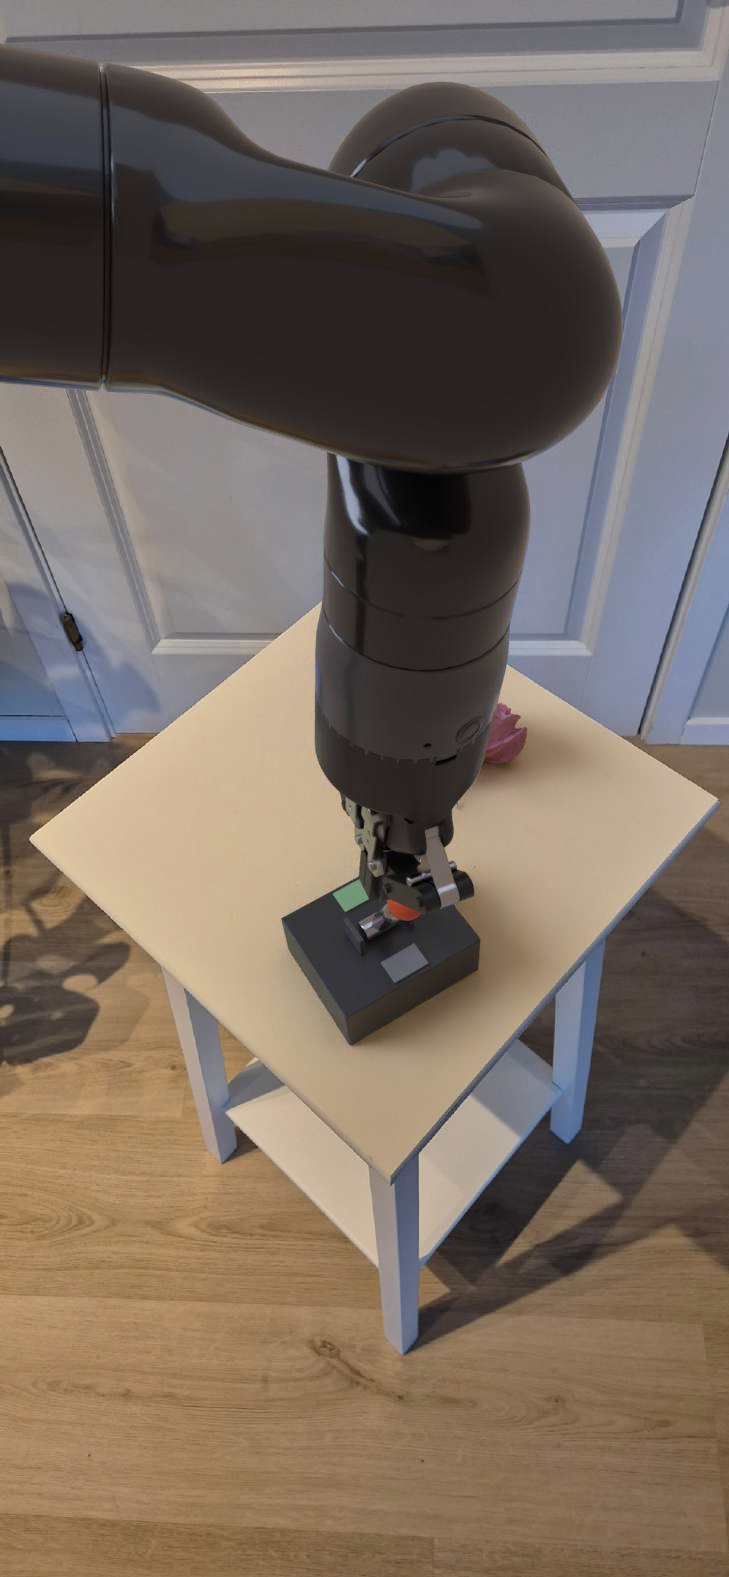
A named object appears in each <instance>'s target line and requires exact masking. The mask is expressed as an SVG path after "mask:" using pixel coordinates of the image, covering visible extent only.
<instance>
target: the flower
mask: <svg viewBox="0 0 729 1577" xmlns="http://www.w3.org/2000/svg"><path fill="white" fill-rule="evenodd" d="M521 718H522V717H521V715H519V714H515V713H512V709H511V708H510V707H508V706H507V704H505V703H503V702H498V704H497V708H496V712H495V716H494V720H493V724H492V728H491V732H490V736H489V740H488V744H487V748H486V753H485V757H484V761H483V762H488V763H490V764H506V763H508V762H511V761H512V760H514V759H515V758H516V757H517V756H519V755H520V753H521V752H522V751H523V750H524V748H525V745H526V743H527V736H528V727H527V726H522V727H518V728H516V725H517V723H518V722H519V720H520V719H521ZM458 802H459V801H458ZM458 802H457V803H456V809H457V810H458V809H459V803H458Z"/></svg>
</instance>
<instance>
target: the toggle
mask: <svg viewBox="0 0 729 1577" xmlns="http://www.w3.org/2000/svg"><path fill="white" fill-rule="evenodd" d="M420 915H421V913H419V912H417V911H415V910H413V909H410V908H408V907H406V906H403V905H401V904H399V903H397V902H394V901H392V900H387V904H386V905H385V906H384V907H383V908H382V909H380V910H379V911H377V912H376V913H374V914H372V915H370V916H368V917H367V918H365V919H363V920H361V921H360V922H358V923H357V925H358V929H359V931H360V933H361V935H362V936H363V938H364V939H365V940H366V941H369V940H371V939H373V938H374V937H376V936H378V935H380V934H381V933H383V932H385V931H387V930H388V929H390V928H392V927H394V926H396V925H397V924H399V923H400V922H401V920H403V921H409V920H413V919H415V918H417V917H418V916H420Z"/></svg>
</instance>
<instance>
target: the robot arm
mask: <svg viewBox="0 0 729 1577" xmlns="http://www.w3.org/2000/svg"><path fill="white" fill-rule="evenodd" d="M620 294H621V293H620V291H619V288H618V283H617V279H616V275H615V272H614V269H613V267H612V264H611V262H610V260H609V257H608V255H607V253H606V251H605V249H604V246H603V245H602V243H601V241H600V239H599V238H598V236H597V234H596V233H595V231H594V229H593V227H592V226H591V225H590V223H589V221H588V220H587V218H586V217H585V215H584V212H582V210H581V209H580V207H579V205H578V204H577V202H576V200H575V199H574V197H573V195H572V194H571V192H570V190H569V189H568V187H567V186H566V184H565V182H564V181H563V179H562V178H561V175H560V173H558V171H557V169H556V167H555V165H554V164H553V162H552V160H551V159H550V157H549V155H548V154H547V152H546V151H545V149H544V147H543V145H542V144H541V143H540V141H539V139H538V138H537V137H536V135H535V134H534V132H533V131H532V130H531V128H530V127H529V126H528V125H527V123H526V122H525V121H524V120H523V119H522V118H521V117H520V116H519V115H518V113H516V112H515V111H514V110H512V109H511V108H510V107H509V106H508V105H506V104H505V103H504V102H502V101H501V100H499V99H498V98H497V97H495V96H493V95H492V94H490V93H488V92H486V91H484V90H482V89H480V88H479V87H475V86H471V85H468V84H465V83H460V82H459V83H458V82H453V81H431V82H423V83H419V84H414V85H411V86H408V87H406V88H403V89H402V90H399V91H396V92H395V93H393V94H391V95H389V96H387V97H386V98H384V99H382V100H381V101H380V102H378V103H377V104H375V105H374V106H373V107H372V108H371V109H369V110H368V111H367V112H365V114H364V115H363V116H361V117H360V119H359V120H358V121H356V123H355V124H353V126H352V128H351V129H350V130H349V131H348V132H347V134H346V135H345V136H344V138H343V139H342V140H341V142H340V144H339V145H338V147H337V149H336V151H335V153H334V154H333V156H332V158H331V160H330V162H329V165H328V166H327V169H324V168H321V167H316V166H314V165H310V164H306V163H303V162H300V161H296V160H293V159H289V158H286V157H283V156H280V155H278V154H275V153H274V152H271V151H269V150H267V149H266V148H264V147H262V146H260V145H258V144H257V143H256V142H255V141H253V140H252V139H251V138H249V137H248V135H247V134H246V133H245V132H244V131H243V130H242V129H241V128H240V126H238V124H237V123H236V122H235V121H234V120H233V119H232V117H230V115H229V114H228V113H227V112H226V111H225V109H224V108H222V106H221V105H220V104H219V103H218V102H216V100H214V99H213V98H212V97H211V96H209V95H208V94H207V93H205V92H204V91H202V90H200V89H198V88H196V87H195V86H193V85H191V84H189V83H185V82H183V81H180V80H177V79H174V78H172V77H169V76H166V75H162V74H159V73H155V72H152V71H148V70H144V69H139V68H136V67H131V66H127V65H121V64H115V63H111V62H107V61H105V62H104V63H103V65H102V66H101V67H100V64H99V61H97V60H93V59H87V58H84V57H83V58H82V57H76V56H71V55H67V54H66V55H65V54H61V53H56V52H55V53H54V52H49V51H44V50H38V49H32V48H27V47H22V46H15V45H10V44H4V43H0V384H7V385H19V386H29V387H30V386H31V387H42V388H51V389H52V388H54V389H65V390H75V391H76V390H77V391H85V392H86V391H88V392H99V391H100V390H101V388H103V390H104V392H106V393H107V392H108V393H118V394H131V395H132V394H134V395H135V394H136V395H139V394H140V395H154V396H159V397H165V398H168V399H173V400H176V401H178V402H181V403H183V404H187V405H190V406H192V407H194V408H198V409H200V410H202V411H204V412H208V413H210V414H212V415H214V416H217V417H219V418H221V419H224V420H226V421H230V422H233V423H235V424H238V425H241V426H244V427H247V428H251V429H252V430H258V431H259V432H264V433H267V434H269V435H273V436H276V437H279V438H282V439H285V440H288V441H292V442H295V443H298V444H301V445H304V446H307V447H310V448H313V449H316V450H320V451H323V452H326V472H327V473H326V479H327V480H326V481H327V484H326V506H325V515H324V523H323V537H322V538H323V540H322V598H321V600H322V601H321V607H320V611H319V617H318V619H317V620H318V621H317V626H316V633H315V646H314V647H315V648H314V751H315V755H316V759H317V762H318V765H319V767H320V769H321V771H322V773H323V775H324V777H325V778H326V779H327V781H328V782H329V784H331V785H332V786H333V787H334V789H335V790H336V791H337V792H339V795H340V796H339V797H340V799H341V803H340V804H341V808H342V810H343V811H344V812H345V813H346V815H347V817H349V818H350V820H351V821H352V823H353V825H354V841H355V843H356V845H357V846H358V847H359V849H360V855H359V856H360V857H359V866H358V868H359V869H358V870H359V871H358V876H359V880H360V882H361V884H362V886H363V888H364V890H365V892H366V894H367V896H368V898H369V900H370V901H376V900H378V901H379V903H382V902H385V901H387V900H392V901H394V902H397V903H399V904H401V905H403V906H406V907H408V908H410V909H413V910H415V911H417V912H419V913H422V914H424V915H425V914H428V913H431V912H433V911H436V910H439V909H442V908H444V907H447V906H450V905H452V904H453V905H455V904H457V903H459V902H462V901H465V900H467V899H470V898H472V897H473V898H474V896H475V888H474V887H475V886H474V882H473V880H472V878H471V877H470V875H469V874H468V873H467V872H466V871H464V870H461V869H458V865H457V863H456V861H455V860H453V859H452V860H450V861H449V858H448V856H447V855H448V854H447V851H446V848H447V847H448V846H449V845H450V844H451V842H452V841H453V838H454V836H455V835H454V834H455V827H454V819H453V809H454V807H455V806H457V804H456V803H457V802H459V801H460V800H461V799H462V797H464V795H465V794H466V793H467V792H468V790H469V789H470V788H471V787H472V785H473V784H474V782H475V781H476V779H477V778H478V776H479V774H480V772H481V769H482V767H483V764H484V762H485V761H484V757H485V753H486V748H487V744H488V740H489V736H490V732H491V728H492V724H493V720H494V716H495V712H496V708H497V704H498V703H499V700H500V695H501V691H502V688H503V684H504V683H503V682H504V679H505V675H506V671H507V665H508V660H509V651H510V630H511V621H512V617H513V613H514V609H515V604H516V601H517V596H518V592H519V588H520V584H521V579H522V575H523V570H524V566H525V561H526V556H527V553H528V548H529V543H530V542H529V541H530V534H531V521H532V520H531V519H532V518H531V517H532V516H531V500H530V499H531V498H530V492H529V487H528V482H527V477H526V474H525V469H524V466H523V463H524V462H527V461H529V460H531V459H533V458H536V457H537V456H539V455H541V454H543V453H546V452H547V451H548V450H551V449H552V448H554V447H555V446H556V445H558V444H560V443H562V442H563V441H565V440H566V439H567V438H568V437H570V436H571V435H572V434H573V433H574V432H576V430H577V429H578V428H579V427H581V426H582V425H583V424H584V422H585V421H586V420H587V419H588V418H589V417H590V416H591V414H592V413H593V412H594V410H595V409H596V408H597V406H598V405H599V404H600V402H601V401H602V399H603V398H604V396H605V394H606V393H607V390H608V389H609V387H610V385H611V383H612V380H613V377H614V375H615V373H616V369H617V366H618V364H619V359H620V355H621V350H622V342H623V333H624V332H623V330H624V329H623V328H624V320H623V318H624V317H623V307H622V306H623V305H622V299H621V295H620ZM419 861H420V862H421V863H419Z"/></svg>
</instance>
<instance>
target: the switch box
mask: <svg viewBox="0 0 729 1577" xmlns="http://www.w3.org/2000/svg"><path fill="white" fill-rule="evenodd" d="M419 863H421V860H420V861H419ZM386 904H387V901H385V902H382V903H379V901H378V900H376V901H370V900H369V898H368V896H367V894H366V892H365V890H364V888H363V886H362V884H361V882H360V880H359V875H358V876H357V877H355V878H353V879H351V880H349V881H348V882H345V883H344V884H342V885H340V886H338V887H336V888H334V889H333V890H331V891H329V892H327V893H325V894H323V895H321V896H320V897H318V898H316V899H314V900H312V901H311V902H309V903H307V904H305V905H303V906H301V907H299V908H298V909H296V910H294V911H292V912H290V913H288V914H287V915H285V916H283V917H281V920H280V921H281V923H282V928H283V933H284V937H285V941H286V945H287V950H288V951H289V953H290V954H291V956H292V958H293V959H294V961H295V962H296V964H297V965H298V967H299V968H300V970H301V972H302V973H303V975H304V976H305V978H306V979H307V981H308V982H309V984H310V986H311V988H312V989H313V990H314V992H315V993H316V995H317V997H318V998H319V1000H320V1001H321V1003H322V1005H323V1006H324V1007H325V1009H326V1011H327V1012H328V1014H329V1015H330V1017H331V1019H332V1020H333V1022H334V1023H335V1025H336V1026H337V1028H338V1030H339V1031H340V1033H341V1034H342V1037H344V1039H345V1040H346V1043H347V1045H349V1046H352V1045H354V1044H356V1043H358V1042H359V1041H361V1040H363V1039H364V1038H366V1037H368V1036H370V1035H371V1034H373V1033H374V1032H376V1031H378V1030H380V1029H381V1028H383V1027H385V1026H386V1025H388V1024H390V1023H391V1022H393V1021H394V1020H396V1019H398V1018H399V1017H401V1016H403V1015H405V1014H407V1013H408V1012H410V1011H411V1010H413V1009H415V1008H416V1007H418V1006H420V1005H422V1004H423V1003H425V1002H427V1001H428V1000H430V999H431V998H433V997H434V996H437V995H438V994H440V993H442V992H443V991H445V990H447V989H449V988H450V987H452V986H453V985H455V984H457V983H458V982H460V981H461V980H463V979H465V978H467V977H468V976H470V975H472V974H474V973H475V972H477V971H479V965H480V953H481V942H482V941H481V940H482V939H481V938H480V936H479V934H478V933H476V931H475V930H474V929H473V927H472V926H471V925H470V924H469V922H468V921H467V920H466V918H465V917H464V916H463V914H462V913H461V912H460V911H459V909H458V908H457V907H456V906H455V904H452V905H450V906H447V907H444V908H442V909H439V910H436V911H433V912H431V913H428V914H425V915H424V914H422V913H421V915H420V916H418V917H417V918H415V919H413V920H409V921H403V920H401V922H400V923H399V924H397V925H396V926H394V927H392V928H390V929H388V930H387V931H385V932H383V933H381V934H380V935H378V936H376V937H374V938H373V939H371V940H369V941H366V940H365V939H364V938H363V936H362V935H361V933H360V931H359V929H358V925H357V923H358V922H360V921H361V920H363V919H365V918H367V917H368V916H370V915H372V914H374V913H376V912H377V911H379V910H380V909H382V908H383V907H384V906H385V905H386Z"/></svg>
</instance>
